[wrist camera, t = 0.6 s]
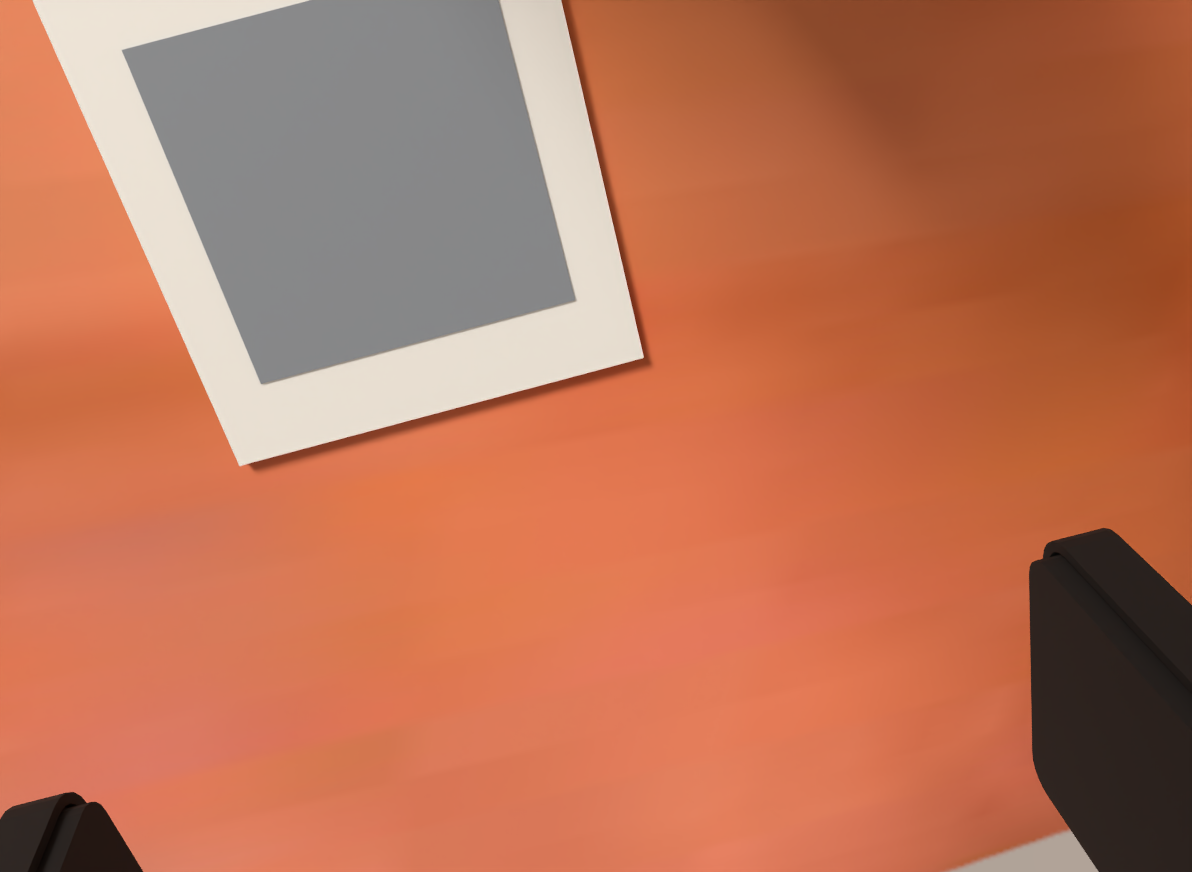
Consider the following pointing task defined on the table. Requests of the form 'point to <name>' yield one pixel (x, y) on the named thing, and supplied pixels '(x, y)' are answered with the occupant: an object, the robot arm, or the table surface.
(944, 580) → the table surface
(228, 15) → the card
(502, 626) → the table surface
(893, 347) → the table surface
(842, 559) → the table surface
